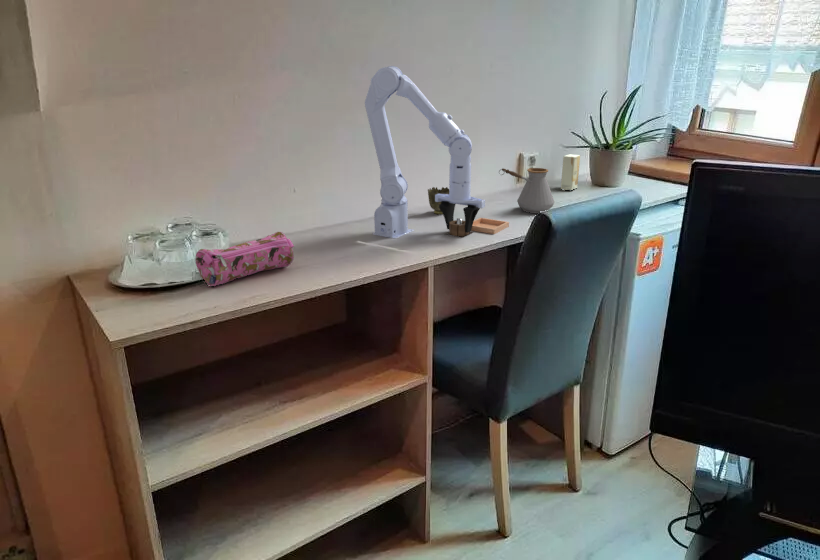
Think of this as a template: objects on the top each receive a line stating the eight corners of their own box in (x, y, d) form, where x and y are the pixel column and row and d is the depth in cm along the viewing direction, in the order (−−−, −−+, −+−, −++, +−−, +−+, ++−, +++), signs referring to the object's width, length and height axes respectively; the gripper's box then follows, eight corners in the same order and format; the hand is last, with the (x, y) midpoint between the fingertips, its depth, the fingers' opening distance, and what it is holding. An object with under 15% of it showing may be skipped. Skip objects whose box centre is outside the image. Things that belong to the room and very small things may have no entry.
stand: (463, 239, 167) (463, 222, 166) (444, 235, 171) (444, 219, 169) (473, 234, 172) (474, 217, 170) (455, 230, 175) (455, 214, 174)
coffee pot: (534, 204, 204) (537, 158, 198) (561, 211, 195) (565, 163, 189) (485, 214, 192) (487, 165, 187) (511, 222, 183) (514, 171, 178)
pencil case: (213, 293, 133) (208, 254, 130) (195, 282, 139) (189, 244, 136) (299, 270, 146) (296, 234, 143) (278, 261, 153) (275, 226, 149)
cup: (452, 211, 195) (452, 186, 192) (451, 217, 188) (451, 191, 186) (428, 211, 196) (428, 186, 193) (426, 217, 189) (426, 191, 186)
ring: (462, 237, 168) (462, 226, 167) (446, 234, 171) (446, 223, 169) (471, 232, 172) (472, 221, 171) (455, 229, 175) (455, 219, 174)
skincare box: (571, 191, 220) (574, 157, 216) (560, 190, 222) (562, 156, 218) (577, 188, 225) (580, 154, 221) (566, 187, 227) (569, 153, 223)
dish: (494, 235, 170) (494, 229, 170) (464, 230, 175) (465, 224, 174) (508, 228, 177) (509, 221, 177) (480, 223, 182) (480, 217, 182)
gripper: (491, 181, 165) (489, 230, 170) (444, 175, 173) (443, 222, 178) (478, 186, 160) (477, 236, 165) (431, 180, 167) (430, 228, 172)
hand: (459, 230), depth 171 cm, fingers closed on ring, 5 cm apart
